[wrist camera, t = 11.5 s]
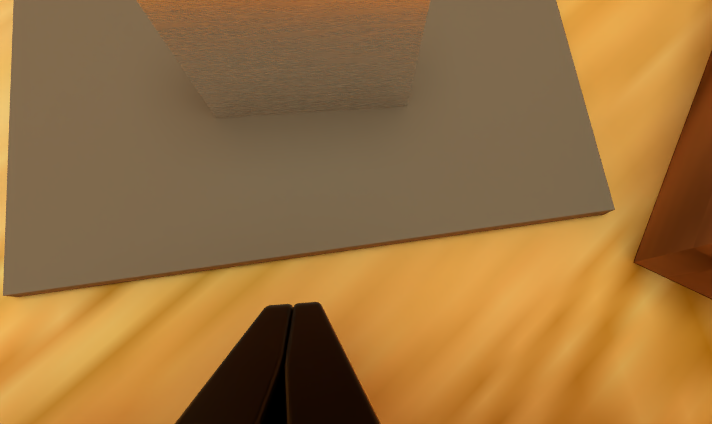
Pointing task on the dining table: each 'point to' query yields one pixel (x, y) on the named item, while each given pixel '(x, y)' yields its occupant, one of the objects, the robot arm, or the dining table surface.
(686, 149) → the slot box
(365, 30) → the wooden block
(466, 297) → the dining table surface
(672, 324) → the dining table surface
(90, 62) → the rubber mat
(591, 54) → the dining table surface
